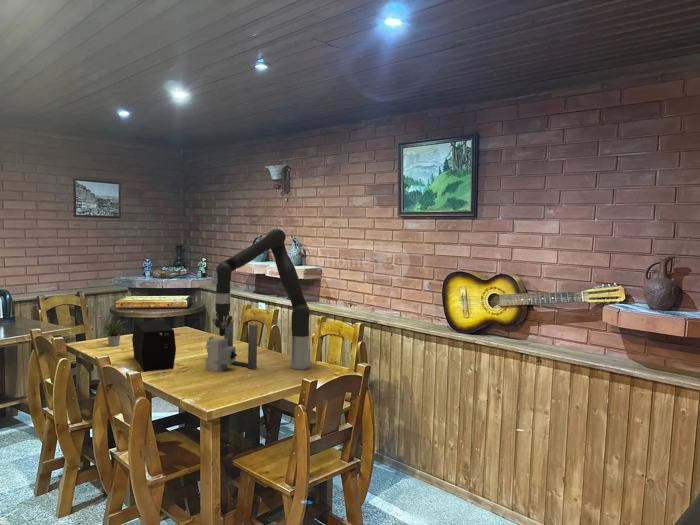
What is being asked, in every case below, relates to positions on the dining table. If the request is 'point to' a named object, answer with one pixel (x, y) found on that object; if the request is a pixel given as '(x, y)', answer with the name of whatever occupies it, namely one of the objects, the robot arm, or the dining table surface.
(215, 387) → the dining table surface
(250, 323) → the post
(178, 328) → the dining table surface
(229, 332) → the far cord post
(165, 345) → the uninterruptible power supply
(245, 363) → the floor cable
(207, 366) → the circuit breaker
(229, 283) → the robot arm
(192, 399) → the dining table surface
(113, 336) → the house plant
